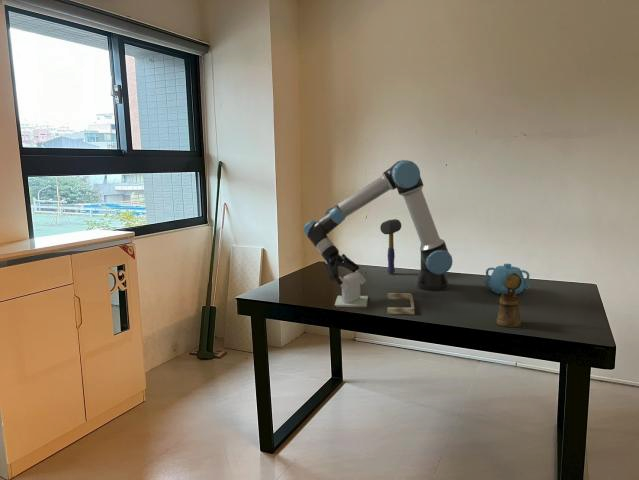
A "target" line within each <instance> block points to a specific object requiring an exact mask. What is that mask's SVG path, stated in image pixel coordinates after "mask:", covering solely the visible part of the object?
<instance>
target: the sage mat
mask: <svg viewBox="0 0 639 480" xmlns="http://www.w3.org/2000/svg"><path fill="white" fill-rule="evenodd" d="M368 300H369V296H368V295H360V298H359V299H357V300H355V301H352V302H350V303H343V302H342V295H337V297H336V300H335V303H334V307H335V306H336V307H337V308H340V307H341V308H344V307H345V308H352V307H353V308H367V307H368Z"/></svg>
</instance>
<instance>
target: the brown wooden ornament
mask: <svg viewBox="0 0 639 480" xmlns="http://www.w3.org/2000/svg"><path fill="white" fill-rule="evenodd" d="M520 285H521V278H520V276H519V275H517V274H516V273H513V274H511V275H509V276H507V277H506V279H505V286H506V287H507V288H508V293H507V294H504V293H501V294H500V298H499V307H498V314H497V317H496V324H497V325H499V326H501V327H504V328H518V327H521V326H522V321H521V315H520V306H519V304H520V300H519V297H518V294H515V289H517V288H519V287H520ZM514 294H515V295H514Z"/></svg>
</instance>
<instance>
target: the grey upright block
mask: <svg viewBox="0 0 639 480" xmlns="http://www.w3.org/2000/svg"><path fill="white" fill-rule="evenodd" d="M342 279H343V280H344V282H345V283H346V284H347V286H348V287H349V288H348V289H347V290H346V291H345V292H344V290H343V289H342V288H341V296H342V302H343V303H350V302H352V301H355V300H357V299H359V298H360V296H361V283H360V276H359V274H357V273H354V272H350V273H347V274H346V275H345V276H343V277H342Z"/></svg>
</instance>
